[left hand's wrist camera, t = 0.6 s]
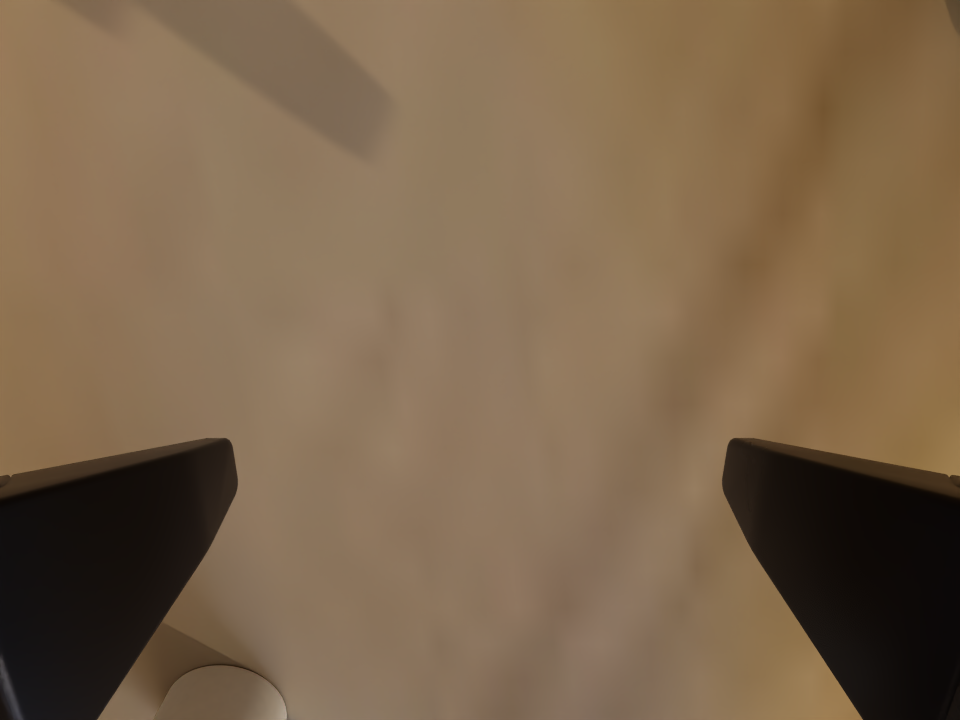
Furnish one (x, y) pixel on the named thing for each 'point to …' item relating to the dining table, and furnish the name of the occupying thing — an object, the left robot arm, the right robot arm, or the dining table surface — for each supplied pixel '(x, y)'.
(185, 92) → the dining table surface
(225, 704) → the canister
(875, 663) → the left robot arm
